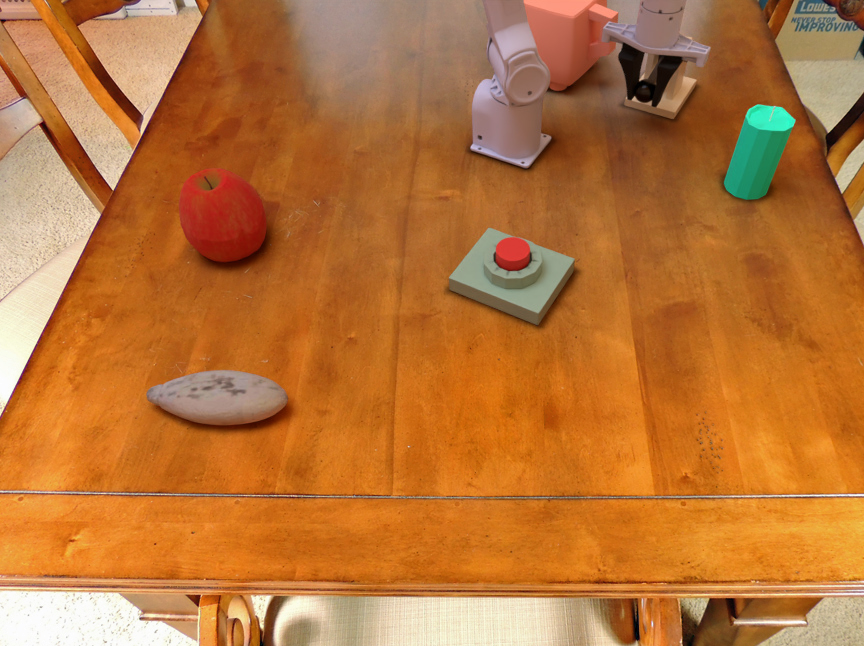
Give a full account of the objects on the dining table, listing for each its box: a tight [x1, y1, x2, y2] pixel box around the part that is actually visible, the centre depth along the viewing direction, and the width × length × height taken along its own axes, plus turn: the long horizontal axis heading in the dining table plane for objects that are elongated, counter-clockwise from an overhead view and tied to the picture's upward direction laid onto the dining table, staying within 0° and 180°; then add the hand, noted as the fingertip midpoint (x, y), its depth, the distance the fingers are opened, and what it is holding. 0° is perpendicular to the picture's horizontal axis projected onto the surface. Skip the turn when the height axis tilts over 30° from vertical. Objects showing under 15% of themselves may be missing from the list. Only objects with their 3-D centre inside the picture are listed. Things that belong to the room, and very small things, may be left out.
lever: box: [634, 55, 665, 103], centre depth 99 cm, size 12×3×3 cm, turn 151°
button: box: [496, 236, 530, 271], centre depth 80 cm, size 4×4×2 cm
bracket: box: [623, 35, 698, 120], centre depth 103 cm, size 10×8×9 cm
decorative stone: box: [146, 369, 289, 426], centre depth 72 cm, size 6×16×3 cm, turn 88°
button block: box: [448, 227, 576, 326], centre depth 82 cm, size 12×10×4 cm
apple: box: [178, 167, 268, 263], centre depth 84 cm, size 10×10×10 cm
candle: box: [723, 104, 797, 201], centre depth 89 cm, size 6×6×12 cm
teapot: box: [524, 0, 619, 92], centre depth 106 cm, size 22×13×14 cm, turn 56°
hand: (643, 100), depth 98 cm, fingers closed on lever, 3 cm apart
